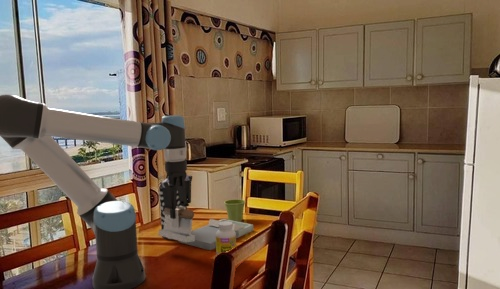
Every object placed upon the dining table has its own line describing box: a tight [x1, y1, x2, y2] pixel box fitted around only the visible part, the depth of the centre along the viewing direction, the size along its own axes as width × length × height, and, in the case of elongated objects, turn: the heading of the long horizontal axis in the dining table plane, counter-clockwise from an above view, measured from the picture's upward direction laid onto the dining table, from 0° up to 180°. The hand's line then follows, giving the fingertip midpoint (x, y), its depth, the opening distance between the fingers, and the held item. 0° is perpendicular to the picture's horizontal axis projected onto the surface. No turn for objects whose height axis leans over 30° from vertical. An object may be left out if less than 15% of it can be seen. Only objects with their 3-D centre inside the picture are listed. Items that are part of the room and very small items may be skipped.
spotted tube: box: [158, 185, 181, 240], centre depth 165 cm, size 8×8×20 cm
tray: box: [218, 218, 254, 238], centre depth 170 cm, size 10×16×2 cm, turn 53°
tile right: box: [232, 223, 244, 231], centre depth 165 cm, size 6×6×2 cm
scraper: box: [158, 208, 195, 242], centre depth 146 cm, size 4×14×10 cm, turn 53°
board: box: [178, 224, 239, 251], centre depth 159 cm, size 16×16×2 cm
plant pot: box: [223, 198, 246, 222], centre depth 183 cm, size 9×9×9 cm
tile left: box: [208, 218, 222, 227], centre depth 169 cm, size 6×6×2 cm
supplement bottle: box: [215, 221, 237, 255], centre depth 138 cm, size 7×7×13 cm
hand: (179, 225), depth 146 cm, fingers closed on scraper, 3 cm apart
